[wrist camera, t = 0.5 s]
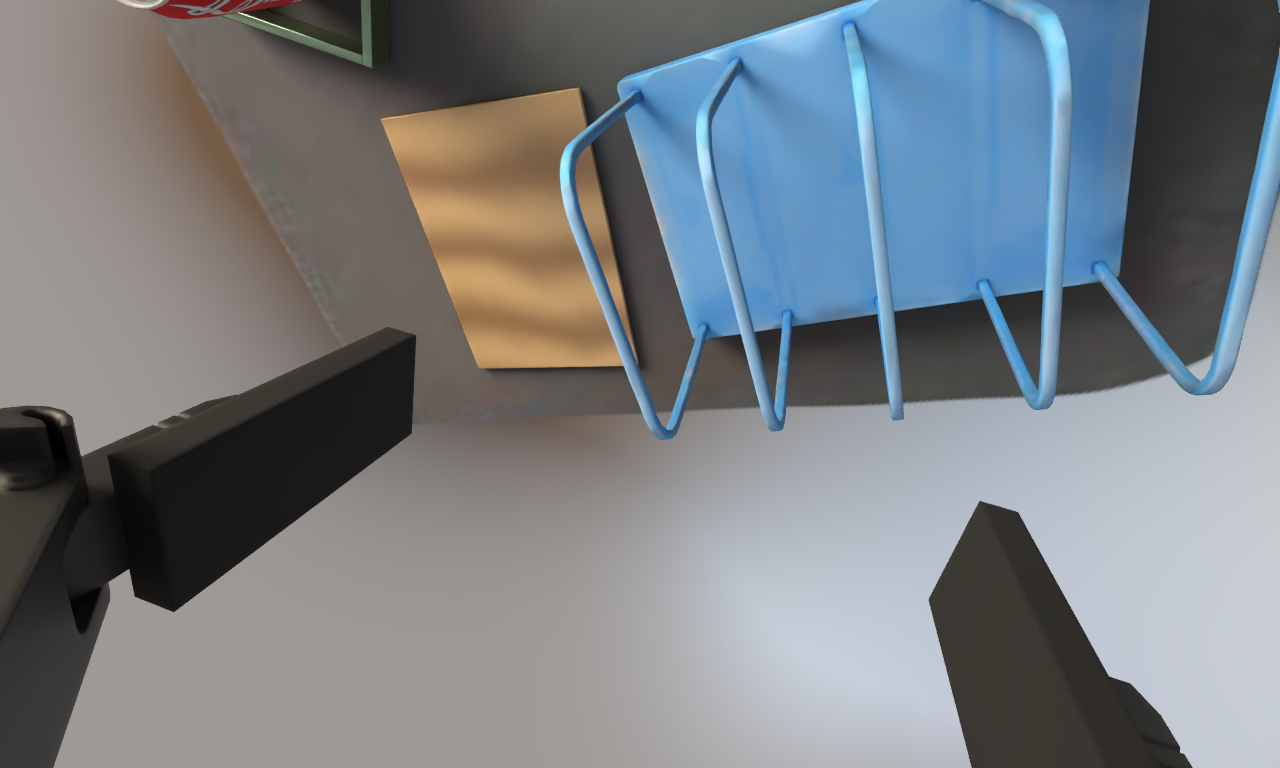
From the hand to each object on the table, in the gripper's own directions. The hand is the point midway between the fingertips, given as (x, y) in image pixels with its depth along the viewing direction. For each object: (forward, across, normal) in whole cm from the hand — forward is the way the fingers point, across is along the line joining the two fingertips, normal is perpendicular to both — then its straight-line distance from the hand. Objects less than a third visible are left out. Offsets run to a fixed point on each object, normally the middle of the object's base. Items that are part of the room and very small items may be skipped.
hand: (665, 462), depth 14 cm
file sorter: (+28, +5, +6) cm, 29 cm away
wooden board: (+29, -16, -4) cm, 34 cm away
